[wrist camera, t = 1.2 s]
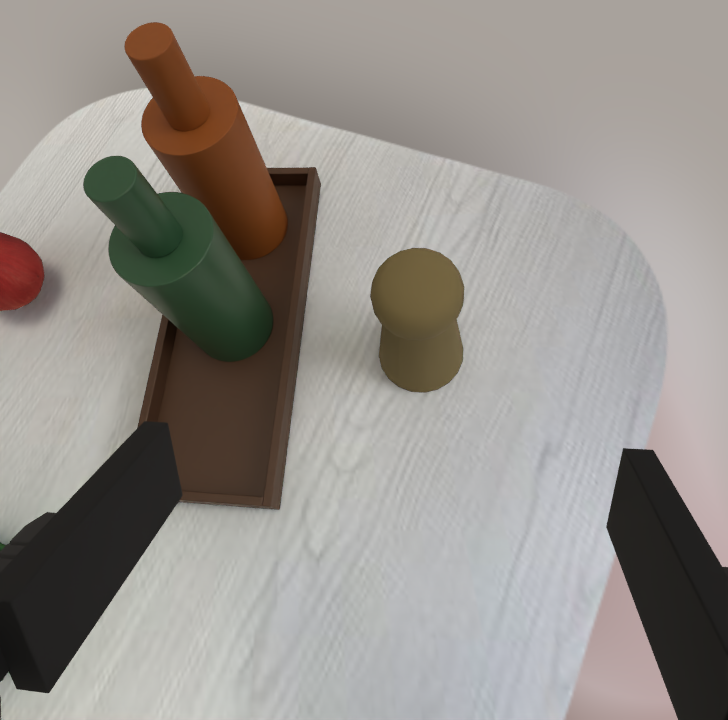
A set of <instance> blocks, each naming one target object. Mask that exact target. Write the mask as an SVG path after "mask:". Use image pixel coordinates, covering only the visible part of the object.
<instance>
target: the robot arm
mask: <svg viewBox="0 0 728 720" xmlns="http://www.w3.org/2000/svg"><path fill="white" fill-rule="evenodd" d="M182 496H183V494H182V489H181V484H180V479H179V474H178V470H177V465H176V460H175V455H174V450H173V445H172V440H171V435H170V431H169V426H168V423H166V422H149V421H144V422H143V423H142V424H141V425H140V426H139V427H138V428H137V429H136V430H135V432H134V433H133V434H132V435H131V436H130V437H129V438H128V439H127V440H126V441H125V442H124V443H123V444H122V445H121V446H120V447H119V448H118V449H117V450H116V451H115V452H114V454H113V455H112V456H111V457H110V458H109V459H108V460H107V461H106V462H105V463H104V464H103V465H102V466H101V467H100V468H99V469H98V470H97V471H96V472H95V473H94V474H93V476H92V477H91V478H90V479H89V480H88V481H87V482H86V483H85V484H84V485H83V486H82V487H81V488H80V489H79V490H78V491H77V492H76V493H75V494H74V495H73V496H72V498H71V499H70V500H69V501H68V502H67V503H66V504H65V505H64V506H63V507H62V508H61V509H60V510H59V511H58V512H57V513H49V512H47V513H45V514H43V515H42V516H40V517H39V518H37V519H35V520H34V521H32V522H31V523H29V524H27V525H26V526H25V527H24V528H23V529H22V530H21V531H20V532H19V533H18V534H17V535H16V536H15V537H14V538H13V539H12V540H11V541H10V544H7V545H6V546H5V547H4V548H3V549H2V550H1V551H0V682H1V680H2V679H3V678H4V677H5V675H6V674H7V673H8V671H9V673H10V675H11V677H12V680H13V682H14V684H15V686H16V688H17V689H20V690H28V691H35V692H43V693H49V692H50V691H51V689H52V688H53V686H54V685H55V683H56V682H57V680H58V679H59V677H60V676H61V674H62V673H63V672H64V670H65V669H66V667H67V666H68V664H69V663H70V661H71V660H72V658H73V657H74V655H75V654H76V652H77V651H78V649H79V648H80V646H81V645H82V643H83V642H84V640H85V639H86V638H87V636H88V635H89V633H90V632H91V630H92V629H93V627H94V626H95V624H96V623H97V621H98V620H99V618H100V617H101V615H102V614H103V612H104V611H105V609H106V608H107V606H108V605H109V604H110V602H111V601H112V599H113V598H114V596H115V595H116V593H117V592H118V590H119V589H120V587H121V586H122V584H123V583H124V581H125V580H126V578H127V577H128V575H129V574H130V572H131V571H132V570H133V568H134V567H135V565H136V564H137V562H138V561H139V559H140V558H141V556H142V555H143V553H144V552H145V550H146V549H147V547H148V546H149V544H150V543H151V541H152V540H153V538H154V537H155V535H156V534H157V533H158V531H159V530H160V528H161V527H162V525H163V524H164V522H165V521H166V519H167V518H168V516H169V515H170V513H171V512H172V510H173V509H174V507H175V506H176V504H177V503H178V501H179V500H180V499H181V497H182ZM606 527H607V530H608V533H609V536H610V538H611V541H612V544H613V546H614V549H615V552H616V554H617V557H618V559H619V562H620V565H621V568H622V570H623V573H624V575H625V578H626V581H627V583H628V586H629V589H630V592H631V594H632V597H633V600H634V602H635V605H636V608H637V610H638V613H639V616H640V619H641V621H642V624H643V627H644V629H645V632H646V634H647V637H648V640H649V643H650V645H651V648H652V651H653V653H654V656H655V659H656V661H657V664H658V667H659V669H660V672H661V675H662V677H663V680H664V683H665V685H666V688H667V691H668V694H669V696H670V699H671V702H672V704H673V707H674V709H675V712H676V715H677V718H678V720H728V567H722V566H721V564H720V562H719V561H718V559H717V558H716V556H715V554H714V552H713V551H712V549H711V547H710V545H709V544H708V542H707V540H706V539H705V537H704V535H703V534H702V532H701V530H700V529H699V527H698V526H697V524H696V522H695V520H694V519H693V517H692V515H691V513H690V512H689V510H688V508H687V507H686V505H685V503H684V502H683V500H682V498H681V496H680V495H679V493H678V492H677V490H676V488H675V486H674V485H673V483H672V481H671V479H670V478H669V476H668V474H667V473H666V471H665V470H664V468H663V466H662V464H661V463H660V461H659V459H658V458H657V456H656V454H655V452H654V451H653V450H643V449H626V448H623V452H622V456H621V461H620V466H619V470H618V475H617V480H616V484H615V489H614V494H613V498H612V503H611V508H610V512H609V517H608V522H607V526H606ZM0 720H1V697H0Z"/></svg>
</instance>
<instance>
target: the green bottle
mask: <svg viewBox="0 0 728 720" xmlns="http://www.w3.org/2000/svg"><path fill="white" fill-rule="evenodd" d="M83 186H84V191H85V193H86V195H87V196H88V197H89V198H90V199H91V200H92V202H93V203H94V204H95V205H96V206H97V207H98V208H99V209H100V210H101V211H102V212H103V213H104V214H105V215H106V216H107V217H108V218H109V219H110V220H111V221H112V222H113V223H114V224H115V226H114V229H113V231H112V233H111V236H110V240H109V257H110V261H111V264H112V266H113V268H114V269H115V271H116V272H117V273H118V275H119V276H120V277H121V278H123V279H124V280H125V281H126V282H127V283H128V284H129V285H130V286H132V287H133V288H134V289H135V290H136V291H137V292H138V293H139V294H140V295H142V296H143V297H144V298H145V299H146V300H147V301H148V302H149V303H151V304H152V305H153V306H154V307H155V308H156V309H157V310H158V311H159V312H161V313H162V314H163V315H164V316H165V317H166V318H167V319H168V320H169V321H171V322H172V323H173V324H174V325H175V326H176V327H177V328H178V329H180V330H181V331H182V332H183V333H184V334H185V335H186V336H187V337H188V338H190V339H191V340H192V341H193V342H194V343H195V344H196V345H197V346H199V347H200V348H201V349H202V350H203V351H204V352H205V353H206V354H208V355H209V356H211V357H212V358H214V359H217V360H220V361H226V362H234V361H239V360H243V359H246V358H248V357H250V356H252V355H253V354H255V353H256V352H258V351H259V350H260V349H261V348H262V347H263V346H264V344H265V343H266V342H267V340H268V338H269V336H270V334H271V331H272V327H273V313H272V309H271V307H270V305H269V303H268V302H267V300H266V298H265V297H264V295H263V294H262V292H261V291H260V289H259V288H258V286H257V285H256V283H255V282H254V280H253V278H252V277H251V275H250V274H249V272H248V271H247V269H246V268H245V266H244V265H243V263H242V262H241V260H240V258H239V257H238V255H237V254H236V252H235V251H234V249H233V248H232V246H231V245H230V243H229V242H228V240H227V238H226V237H225V235H224V234H223V232H222V231H221V229H220V228H219V226H218V225H217V223H216V222H215V220H214V218H213V217H212V215H211V214H210V212H209V211H208V209H207V208H206V207H205V205H204V204H202V203H201V202H200V201H199V200H197V199H196V198H194V197H192V196H190V195H187V194H184V193H178V192H164V193H159V194H157V193H156V192H155V191H154V189H153V188H152V187H151V185H150V184H149V183H148V181H147V180H146V179H145V177H144V176H143V175H142V173H141V172H140V171H139V169H138V168H137V167H136V166H135V164H134V163H133V162H132V161H131V160H130V159H128V158H126V157H123V156H110V157H106V158H104V159H102V160H100V161H98V162H97V163H95V164H94V165H93V166H92V167H91V168H90V169H89V170H88V172H87V174H86V176H85V178H84V184H83Z"/></svg>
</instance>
